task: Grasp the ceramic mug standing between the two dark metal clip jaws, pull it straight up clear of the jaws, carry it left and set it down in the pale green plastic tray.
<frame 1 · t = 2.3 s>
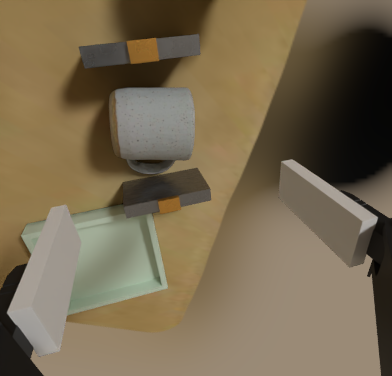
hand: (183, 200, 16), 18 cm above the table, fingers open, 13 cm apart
ceramic mug: (151, 127, 32), on the table
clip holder: (151, 123, 31), on the table
tray: (105, 253, 39), on the table
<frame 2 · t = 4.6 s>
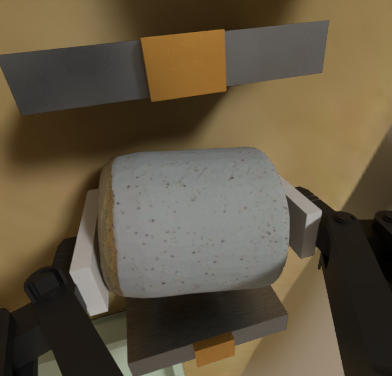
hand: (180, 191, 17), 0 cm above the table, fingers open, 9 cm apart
ceramic mug: (177, 202, 18), on the table, touching gripper
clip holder: (178, 189, 17), on the table
tray: (98, 375, 25), on the table
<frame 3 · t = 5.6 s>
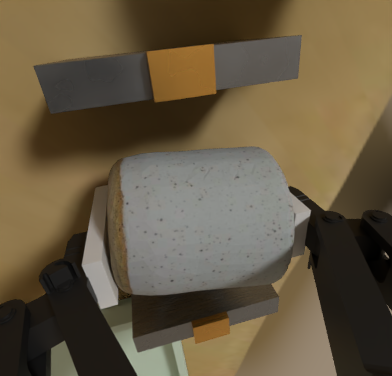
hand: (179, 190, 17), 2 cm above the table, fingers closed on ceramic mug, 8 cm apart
ceramic mug: (182, 202, 18), point 1 cm above the table, touching gripper
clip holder: (179, 183, 19), on the table
tray: (104, 360, 26), on the table
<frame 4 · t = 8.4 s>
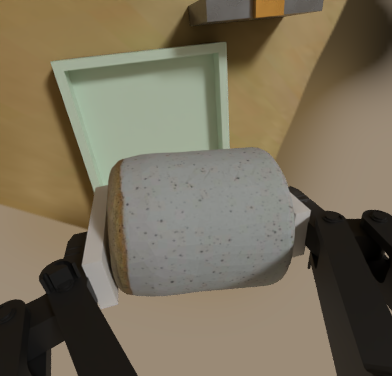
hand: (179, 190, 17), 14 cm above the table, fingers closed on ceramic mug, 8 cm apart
ceramic mug: (182, 202, 18), point 14 cm above the table, touching gripper
tray: (155, 129, 29), on the table
when the fingers open (2 cm above the table, at t = 11.2 s): ceramic mug drops 2 cm, resting on tray.
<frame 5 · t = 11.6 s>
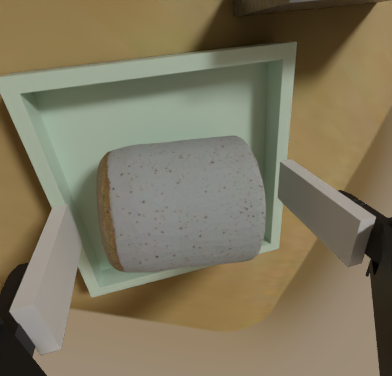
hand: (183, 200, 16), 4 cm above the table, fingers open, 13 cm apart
ceramic mug: (173, 191, 20), resting on tray
tray: (172, 173, 19), on the table
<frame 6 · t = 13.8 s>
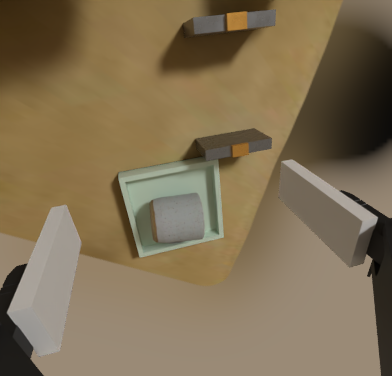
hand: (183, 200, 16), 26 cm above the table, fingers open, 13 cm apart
ceramic mug: (174, 212, 46), resting on tray
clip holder: (222, 87, 39), on the table
tray: (174, 204, 46), on the table
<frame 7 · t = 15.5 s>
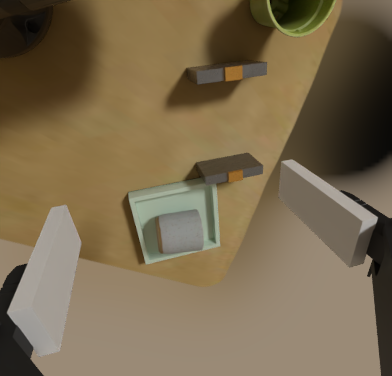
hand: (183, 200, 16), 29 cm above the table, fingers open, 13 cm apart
ceramic mug: (176, 225, 52), resting on tray
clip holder: (220, 119, 44), on the table
tray: (176, 217, 52), on the table
plant pot: (267, 0, 38), on the table
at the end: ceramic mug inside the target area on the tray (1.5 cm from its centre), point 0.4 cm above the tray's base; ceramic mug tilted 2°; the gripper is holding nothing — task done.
